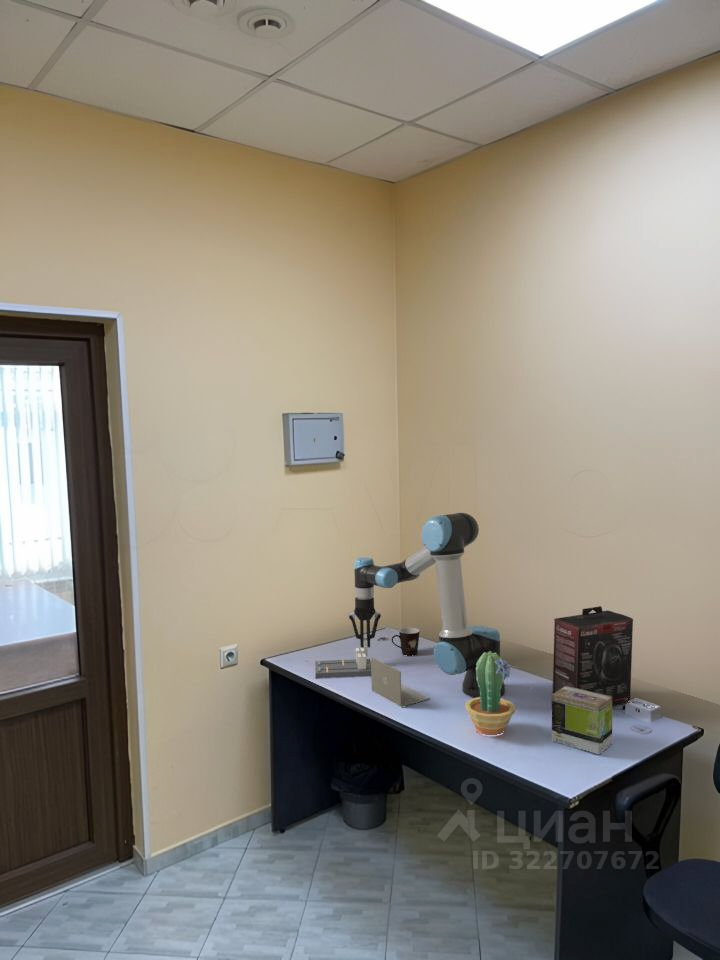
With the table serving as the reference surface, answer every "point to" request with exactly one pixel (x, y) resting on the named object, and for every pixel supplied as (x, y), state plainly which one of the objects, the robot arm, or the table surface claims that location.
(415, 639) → the coffee mug
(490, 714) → the potted cactus
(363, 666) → the fader
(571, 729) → the tea box
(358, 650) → the fader
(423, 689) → the table surface
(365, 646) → the robot arm
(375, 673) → the laptop
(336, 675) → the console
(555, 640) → the headset box
